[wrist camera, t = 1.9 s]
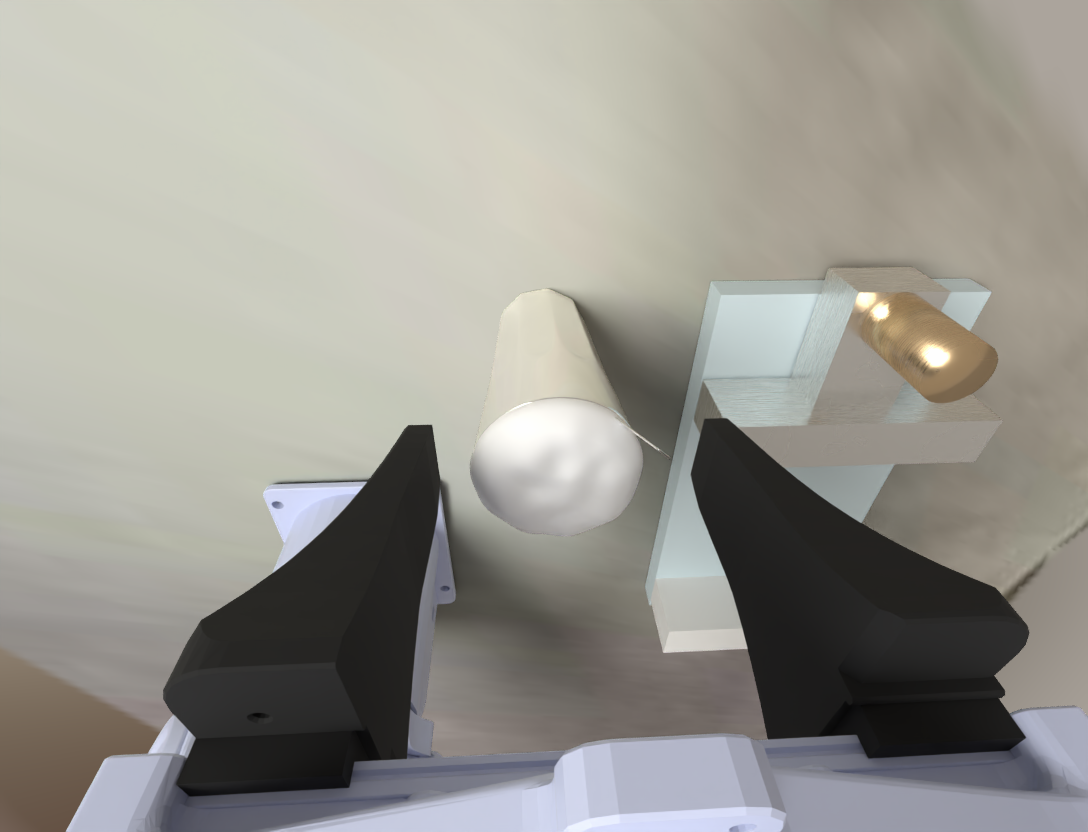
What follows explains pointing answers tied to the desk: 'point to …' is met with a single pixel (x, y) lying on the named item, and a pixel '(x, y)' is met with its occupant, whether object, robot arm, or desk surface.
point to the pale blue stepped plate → (770, 352)
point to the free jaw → (869, 380)
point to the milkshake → (552, 425)
